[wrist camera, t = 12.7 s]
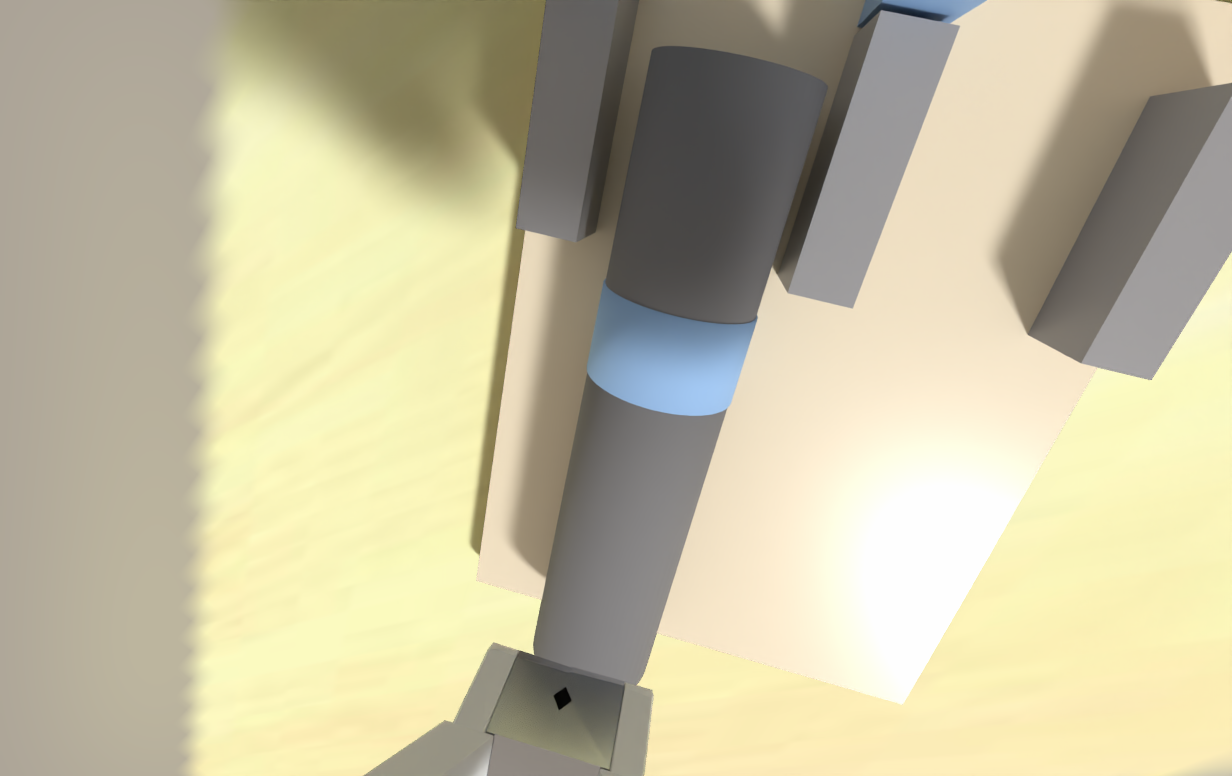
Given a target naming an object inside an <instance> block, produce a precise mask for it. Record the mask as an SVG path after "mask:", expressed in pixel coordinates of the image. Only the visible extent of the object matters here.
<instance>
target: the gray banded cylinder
mask: <svg viewBox="0 0 1232 776" xmlns="http://www.w3.org/2000/svg"><path fill="white" fill-rule="evenodd" d="M827 90H828V86H827V84H826V83H825V82H823V81H822V80H820V79H818V78H816V77H814V76H812V75H810V74H807V73H804V72H802V71H799V70H796V69H793V68H790V67H787V66H784V65H780V64H777V63H773V62H769V61H765V60H761V59H757V58H753V57H749V56H744V55H739V54H734V53H729V52H723V51H717V50H711V49H704V48H695V47H684V46H661V47H656V48H654V49H652V51H651V56H650V61H649V66H648V71H647V76H646V81H645V86H644V91H643V96H642V101H641V106H640V111H639V116H638V121H637V126H636V131H635V136H634V141H633V146H632V151H631V156H630V161H629V166H628V171H627V176H626V181H625V186H624V191H623V196H622V201H621V206H620V211H619V216H618V221H617V226H616V231H615V236H614V241H613V246H612V251H611V256H610V261H609V266H608V271H607V276H606V279H605V280H604V281H603V286H602V291H601V296H600V301H599V307H598V312H597V317H596V322H595V327H594V332H593V337H592V342H591V347H590V352H589V357H588V362H587V376H586V381H585V386H584V391H583V396H582V401H581V406H580V411H579V416H578V421H577V426H576V431H575V436H574V441H573V446H572V451H571V456H570V461H569V466H568V471H567V476H566V481H565V486H564V491H563V496H562V501H561V506H560V511H559V516H558V521H557V526H556V531H555V536H554V541H553V546H552V551H551V556H550V561H549V566H548V571H547V576H546V581H545V586H544V591H543V596H542V601H541V606H540V611H539V616H538V621H537V626H536V631H535V636H534V643H533V648H534V655H535V656H538V657H541V658H544V659H547V660H550V661H553V662H556V663H559V664H562V665H565V666H568V667H575V668H579V669H582V670H586V671H589V672H593V673H596V674H600V675H603V676H607V677H610V678H614V679H618V680H621V681H624V684H625V682H626V683H630V684H633V685H637V684H638V683H639V681H640V680H641V678H642V677H643V674H644V672H645V669H646V666H647V663H648V659H649V656H650V653H651V650H652V647H653V644H654V640H655V637H656V634H657V631H658V628H659V624H660V621H661V618H662V615H663V612H664V609H665V605H666V602H667V599H668V596H669V593H670V589H671V586H672V583H673V580H674V577H675V574H676V570H677V567H678V564H679V561H680V558H681V554H682V551H683V548H684V545H685V542H686V539H687V535H688V532H689V529H690V526H691V523H692V519H693V516H694V513H695V510H696V507H697V504H698V500H699V497H700V494H701V491H702V488H703V484H704V481H705V478H706V475H707V472H708V469H709V465H710V462H711V459H712V456H713V453H714V449H715V446H716V443H717V440H718V437H719V434H720V430H721V427H722V424H723V421H724V418H725V414H726V411H727V408H728V407H729V406H730V404H731V402H732V398H733V395H734V392H735V389H736V386H737V383H738V379H739V376H740V373H741V370H742V367H743V364H744V360H745V357H746V354H747V351H748V348H749V345H750V341H751V338H752V335H753V332H754V329H755V326H756V322H757V319H758V316H757V313H758V309H759V306H760V303H761V300H762V297H763V293H764V290H765V287H766V284H767V281H768V278H769V274H770V271H771V268H772V265H773V262H774V258H775V255H776V252H777V249H778V246H779V243H780V239H781V236H782V233H783V230H784V227H785V223H786V220H787V217H788V214H789V211H790V208H791V204H792V201H793V198H794V195H795V192H796V188H797V185H798V182H799V179H800V176H801V173H802V169H803V166H804V163H805V160H806V157H807V153H808V150H809V147H810V144H811V141H812V137H813V134H814V131H815V128H816V125H817V122H818V118H819V115H820V112H821V109H822V106H823V102H824V99H825V96H826V93H827Z"/></svg>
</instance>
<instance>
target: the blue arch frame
mask: <svg viewBox="0 0 1232 776" xmlns="http://www.w3.org/2000/svg"><path fill="white" fill-rule="evenodd" d="M985 1H987V0H865V3H864V6H863V10H862V13H861V16H860V19H859V22H858V25H857V27H859V28H863V27H864V26H865V25H866V24H867V23H868V22H869V21H870V20H871V19H872V18H873V17H874V16H876V15H877V14H878V13H879V12H880V11H881V10H884V11H889V12H894V13H899V14H904V15H909V16H914V17H919V18H924V19H929V20H934V21H939V22H944V23H949V24H950V23H952V22H953V21H955V20H956V19H958V18H960V17H961V16H963V15H964V14H966V13H968V12H969V11H971V10H972V9H974V8H976V7H977V6H979V5H980V4H982V3H984V2H985Z"/></svg>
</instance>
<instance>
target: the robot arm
mask: <svg viewBox="0 0 1232 776" xmlns="http://www.w3.org/2000/svg"><path fill="white" fill-rule="evenodd" d="M652 704H653V692H652V690H650V689H647V688H643V687H640V686H636V685H633V684H630V683H626V682H625V684H624V681H621V680H618V679H614V678H610V677H607V676H603V675H600V674H596V673H593V672H589V671H586V670H582V669H579V668H575V667H568V666H565V665H562V664H559V663H556V662H553V661H550V660H547V659H544V658H541V657H538V656H535V655H532V654H529V653H526V652H523V651H519V650H516V649H513V648H509V647H506V646H503V645H500V644H497V643H494V642H493V644H492V645H491V646H490V647H489V649H488V650H487V652H486V654H485V657H484V659H483V661H482V663H481V665H480V667H479V669H478V671H477V673H476V675H475V677H474V680H473V682H472V684H471V686H470V688H469V690H468V692H467V694H466V696H465V698H464V700H463V703H462V705H461V707H460V709H459V711H458V713H457V715H456V717H455V719H454V721H453V722H449V721H445V720H444V721H443V722H442V723H440V724H439V725H437V726H436V727H434V728H433V729H431V730H430V731H428V732H427V733H425V734H424V735H422V736H421V737H419V738H418V739H417V740H415V741H414V742H412V743H411V744H409V745H408V746H406V747H405V748H403V749H402V750H400V751H399V752H397V753H396V754H395V755H393V756H392V757H390V758H389V759H387V760H386V761H384V762H383V763H381V764H380V765H378V766H377V767H375V768H374V769H372V770H371V771H370V772H368V773H367V774H365V775H364V776H644V773H645V765H646V756H647V747H648V739H649V730H650V722H651V713H652Z"/></svg>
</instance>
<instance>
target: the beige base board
mask: <svg viewBox="0 0 1232 776" xmlns="http://www.w3.org/2000/svg"><path fill="white" fill-rule="evenodd" d="M864 3H865V0H546V5H545V13H544V20H543V28H542V35H541V43H540V50H539V58H538V65H537V73H536V80H535V88H534V95H533V103H532V110H531V118H530V125H529V133H528V140H527V147H526V155H525V162H524V170H523V177H522V185H521V192H520V200H519V207H518V215H517V222H516V228H518V229H522V230H525V236H524V243H523V250H522V257H521V264H520V272H519V279H518V286H517V293H516V300H515V307H514V314H513V322H512V329H511V336H510V343H509V350H508V357H507V364H506V372H505V379H504V386H503V393H502V400H501V407H500V414H499V422H498V429H497V436H496V443H495V450H494V457H493V464H492V472H491V479H490V486H489V493H488V500H487V507H486V514H485V522H484V529H483V536H482V543H481V550H480V557H479V564H478V572H477V579H476V581H479V582H482V583H486V584H489V585H493V586H496V587H500V588H503V589H506V590H510V591H513V592H517V593H520V594H524V595H527V596H531V597H534V598H537V599H541V600H542V596H543V591H544V586H545V581H546V576H547V571H548V566H549V561H550V556H551V551H552V546H553V541H554V536H555V531H556V526H557V521H558V516H559V511H560V506H561V501H562V496H563V491H564V486H565V481H566V476H567V471H568V466H569V461H570V456H571V451H572V446H573V441H574V436H575V431H576V426H577V421H578V416H579V411H580V406H581V401H582V396H583V391H584V386H585V381H586V376H587V362H588V357H589V352H590V347H591V342H592V337H593V332H594V327H595V322H596V317H597V312H598V307H599V301H600V296H601V291H602V286H603V281H604V280H605V279H606V276H607V271H608V266H609V261H610V256H611V251H612V246H613V241H614V236H615V231H616V226H617V221H618V216H619V211H620V206H621V201H622V196H623V191H624V186H625V181H626V176H627V171H628V166H629V161H630V156H631V151H632V146H633V141H634V136H635V131H636V126H637V121H638V116H639V111H640V106H641V101H642V96H643V91H644V86H645V81H646V76H647V71H648V66H649V61H650V56H651V51H652V49H654V48H656V47H661V46H684V47H695V48H704V49H711V50H717V51H723V52H729V53H734V54H739V55H744V56H749V57H753V58H757V59H761V60H765V61H769V62H773V63H777V64H780V65H784V66H787V67H790V68H793V69H796V70H799V71H802V72H804V73H807V74H810V75H812V76H814V77H816V78H818V79H820V80H822V81H823V82H825V83H826V84H827V86H828V90H827V93H826V96H825V99H824V102H823V106H822V109H821V112H820V115H819V118H818V122H817V125H816V128H815V131H814V134H813V137H812V141H811V144H810V147H809V150H808V153H807V157H806V160H805V163H804V166H803V169H802V173H801V176H800V179H799V182H798V185H797V188H796V192H795V195H794V198H793V201H792V204H791V208H790V211H789V214H788V217H787V220H786V223H785V227H784V230H783V233H782V236H781V239H780V243H779V246H778V249H777V252H776V255H775V258H774V262H773V265H772V268H771V271H770V274H769V278H768V281H767V284H766V287H765V290H764V293H763V297H762V300H761V303H760V306H759V309H758V313H757V316H758V319H757V322H756V326H755V329H754V332H753V335H752V338H751V341H750V345H749V348H748V351H747V354H746V357H745V360H744V364H743V367H742V370H741V373H740V376H739V379H738V383H737V386H736V389H735V392H734V395H733V398H732V402H731V404H730V406H729V407H728V408H727V411H726V414H725V418H724V421H723V424H722V427H721V430H720V434H719V437H718V440H717V443H716V446H715V449H714V453H713V456H712V459H711V462H710V465H709V469H708V472H707V475H706V478H705V481H704V484H703V488H702V491H701V494H700V497H699V500H698V504H697V507H696V510H695V513H694V516H693V519H692V523H691V526H690V529H689V532H688V535H687V539H686V542H685V545H684V548H683V551H682V554H681V558H680V561H679V564H678V567H677V570H676V574H675V577H674V580H673V583H672V586H671V589H670V593H669V596H668V599H667V602H666V605H665V609H664V612H663V615H662V618H661V621H660V624H659V628H658V631H657V633H658V634H661V635H665V636H668V637H672V638H675V639H679V640H682V641H685V642H689V643H692V644H696V645H699V646H703V647H706V648H710V649H713V650H716V651H720V652H723V653H727V654H730V655H734V656H737V657H741V658H744V659H747V660H751V661H754V662H758V663H761V664H765V665H768V666H772V667H775V668H778V669H782V670H785V671H789V672H792V673H796V674H799V675H803V676H806V677H809V678H813V679H816V680H820V681H823V682H827V683H830V684H834V685H837V686H840V687H844V688H847V689H851V690H854V691H858V692H861V693H865V694H868V695H871V696H875V697H878V698H882V699H885V700H889V701H892V702H896V703H899V704H902V705H903V703H904V702H905V700H906V698H907V696H908V695H909V693H910V691H911V689H912V688H913V686H914V684H915V683H916V681H917V679H918V677H919V676H920V674H921V672H922V670H923V669H924V667H925V665H926V664H927V662H928V660H929V658H930V657H931V655H932V653H933V651H934V650H935V648H936V646H937V645H938V643H939V641H940V639H941V638H942V636H943V634H944V632H945V631H946V629H947V627H948V626H949V624H950V622H951V620H952V619H953V617H954V615H955V613H956V612H957V610H958V608H959V606H960V605H961V603H962V601H963V600H964V598H965V596H966V594H967V593H968V591H969V589H970V587H971V586H972V584H973V582H974V581H975V579H976V577H977V575H978V574H979V572H980V570H981V568H982V567H983V565H984V563H985V562H986V560H987V558H988V556H989V555H990V553H991V551H992V549H993V548H994V546H995V544H996V543H997V541H998V539H999V537H1000V536H1001V534H1002V532H1003V530H1004V529H1005V527H1006V525H1007V523H1008V522H1009V520H1010V518H1011V517H1012V515H1013V513H1014V511H1015V510H1016V508H1017V506H1018V504H1019V503H1020V501H1021V499H1022V498H1023V496H1024V494H1025V492H1026V491H1027V489H1028V487H1029V485H1030V484H1031V482H1032V480H1033V479H1034V477H1035V475H1036V473H1037V472H1038V470H1039V468H1040V466H1041V465H1042V463H1043V461H1044V460H1045V458H1046V456H1047V454H1048V453H1049V451H1050V449H1051V447H1052V446H1053V444H1054V442H1055V441H1056V439H1057V437H1058V435H1059V434H1060V432H1061V430H1062V428H1063V427H1064V425H1065V423H1066V421H1067V420H1068V418H1069V416H1070V415H1071V413H1072V411H1073V409H1074V408H1075V406H1076V404H1077V402H1078V401H1079V399H1080V397H1081V396H1082V394H1083V392H1084V390H1085V389H1086V387H1087V385H1088V383H1089V382H1090V380H1091V378H1092V377H1093V375H1094V373H1095V371H1096V370H1097V368H1102V369H1106V370H1110V371H1115V372H1119V373H1123V374H1127V375H1131V376H1136V377H1140V378H1144V379H1148V380H1152V378H1153V377H1154V375H1155V374H1156V372H1157V370H1158V369H1159V367H1160V366H1161V364H1162V362H1163V361H1164V359H1165V358H1166V356H1167V354H1168V353H1169V351H1170V350H1171V348H1172V346H1173V345H1174V343H1175V342H1176V340H1177V338H1178V337H1179V335H1180V334H1181V332H1182V330H1183V329H1184V327H1185V325H1186V324H1187V322H1188V321H1189V319H1190V317H1191V316H1192V314H1193V313H1194V311H1195V309H1196V308H1197V306H1198V305H1199V303H1200V301H1201V300H1202V298H1203V297H1204V295H1205V293H1206V292H1207V290H1208V289H1209V287H1210V285H1211V284H1212V282H1213V281H1214V279H1215V277H1216V276H1217V274H1218V273H1219V271H1220V269H1221V268H1222V266H1223V265H1224V263H1225V261H1226V260H1227V258H1228V257H1229V255H1230V253H1231V252H1232V3H1227V2H1221V1H1216V0H987V1H985V2H984V3H982V4H980V5H979V6H977V7H976V8H974V9H972V10H971V11H969V12H968V13H966V14H964V15H963V16H961V17H960V18H958V19H956V20H955V21H953V22H952V23H950V24H949V23H944V22H939V21H934V20H929V19H924V18H919V17H914V16H909V15H904V14H899V13H894V12H889V11H884V10H881V11H880V12H879V13H878V14H877V15H876V16H874V17H873V18H872V19H871V20H870V21H869V22H868V23H867V24H866V25H865V26H864V27H863V28H859V27H857V25H858V22H859V19H860V16H861V13H862V10H863V6H864Z"/></svg>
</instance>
